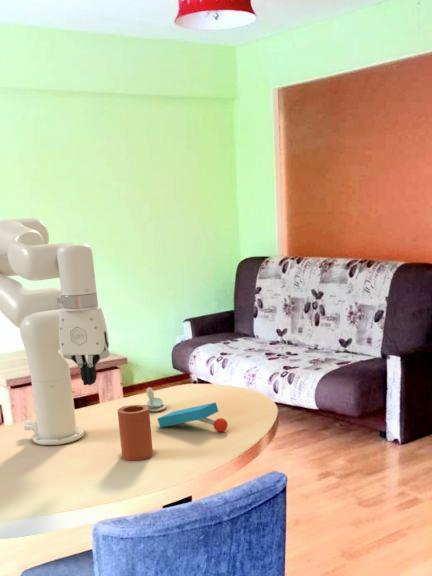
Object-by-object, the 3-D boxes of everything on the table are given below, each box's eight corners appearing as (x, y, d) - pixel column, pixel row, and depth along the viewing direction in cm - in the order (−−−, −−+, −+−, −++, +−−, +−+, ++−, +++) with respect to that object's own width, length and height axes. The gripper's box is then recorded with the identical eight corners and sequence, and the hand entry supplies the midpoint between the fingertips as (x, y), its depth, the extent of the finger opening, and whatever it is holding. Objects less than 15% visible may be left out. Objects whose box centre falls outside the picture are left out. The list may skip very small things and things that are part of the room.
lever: (165, 444, 188) (220, 434, 177) (157, 418, 187) (212, 407, 177) (180, 436, 194) (235, 426, 183) (173, 411, 193) (227, 399, 182)
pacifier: (170, 406, 207) (150, 405, 209) (169, 384, 205) (149, 383, 207) (160, 413, 200) (140, 412, 202) (159, 391, 198) (138, 390, 200)
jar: (117, 460, 166) (112, 413, 163) (128, 449, 172) (124, 404, 169) (147, 460, 164) (142, 413, 161) (156, 450, 170) (152, 404, 167)
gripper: (41, 305, 159) (52, 388, 164) (105, 303, 155) (114, 387, 160) (56, 300, 166) (66, 380, 171) (118, 298, 162) (126, 379, 167)
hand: (89, 383), depth 166 cm, fingers closed
